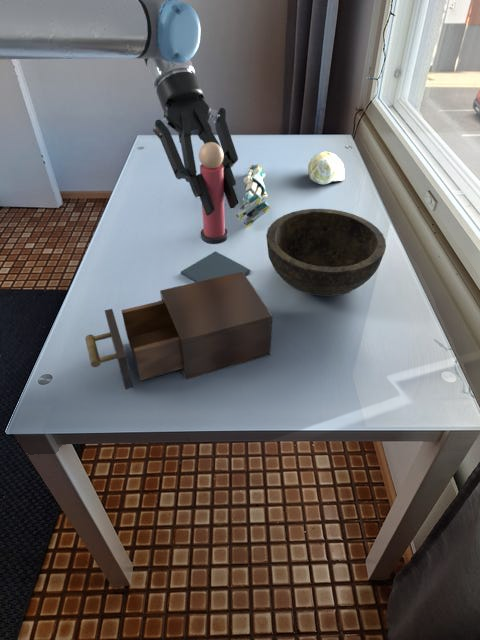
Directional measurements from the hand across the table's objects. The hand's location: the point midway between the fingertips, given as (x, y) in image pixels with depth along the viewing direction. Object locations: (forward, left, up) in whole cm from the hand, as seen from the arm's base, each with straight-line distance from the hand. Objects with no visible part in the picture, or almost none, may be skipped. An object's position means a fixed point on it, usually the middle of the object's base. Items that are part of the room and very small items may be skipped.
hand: (222, 208), depth 82 cm
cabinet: (+10, -13, -16) cm, 23 cm away
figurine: (-19, +29, -16) cm, 38 cm away
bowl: (+13, +13, -16) cm, 25 cm away
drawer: (+5, -23, -15) cm, 28 cm away
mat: (-4, +1, -16) cm, 17 cm away
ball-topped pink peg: (-4, +1, -8) cm, 9 cm away
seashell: (-12, +51, -16) cm, 55 cm away
